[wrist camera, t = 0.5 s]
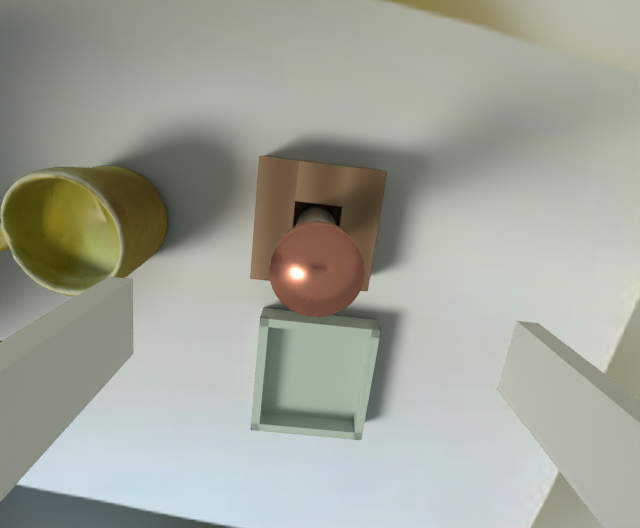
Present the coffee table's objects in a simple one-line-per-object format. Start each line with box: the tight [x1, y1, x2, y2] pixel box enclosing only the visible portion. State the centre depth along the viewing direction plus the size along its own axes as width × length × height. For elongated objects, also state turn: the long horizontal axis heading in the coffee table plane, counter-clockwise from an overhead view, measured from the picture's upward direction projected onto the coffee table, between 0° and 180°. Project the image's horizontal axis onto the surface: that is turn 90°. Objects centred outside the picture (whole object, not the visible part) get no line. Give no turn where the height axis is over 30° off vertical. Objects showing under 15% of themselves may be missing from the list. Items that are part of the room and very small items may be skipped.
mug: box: [0, 166, 168, 296], centre depth 31 cm, size 12×10×10 cm
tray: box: [251, 308, 381, 440], centre depth 38 cm, size 11×12×2 cm
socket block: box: [250, 156, 387, 291], centre depth 33 cm, size 10×10×4 cm
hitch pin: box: [269, 203, 365, 317], centre depth 27 cm, size 5×5×16 cm
